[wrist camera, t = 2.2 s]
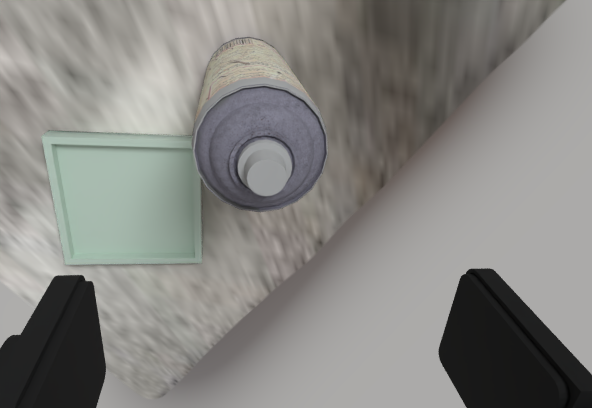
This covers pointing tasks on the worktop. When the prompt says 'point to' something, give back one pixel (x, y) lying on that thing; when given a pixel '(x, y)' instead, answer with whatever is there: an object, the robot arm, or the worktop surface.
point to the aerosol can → (257, 129)
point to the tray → (125, 197)
